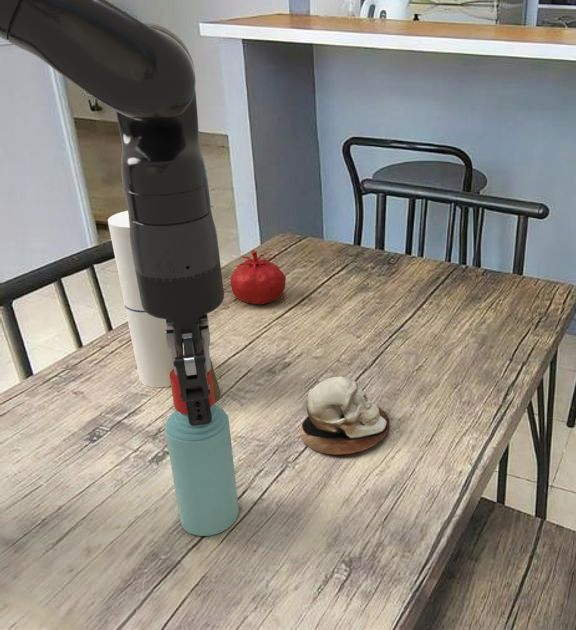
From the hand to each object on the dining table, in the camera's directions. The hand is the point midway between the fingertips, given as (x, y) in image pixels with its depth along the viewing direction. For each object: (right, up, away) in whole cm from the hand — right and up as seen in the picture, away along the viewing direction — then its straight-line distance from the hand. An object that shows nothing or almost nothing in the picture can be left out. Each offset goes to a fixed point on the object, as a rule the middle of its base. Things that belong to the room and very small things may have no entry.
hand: (200, 409), depth 71 cm
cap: (0, +1, -1) cm, 1 cm away
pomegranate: (-7, +13, +56) cm, 58 cm away
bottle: (-1, -13, +7) cm, 15 cm away
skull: (+13, -6, +22) cm, 26 cm away
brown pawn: (-9, -2, +28) cm, 29 cm away
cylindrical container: (-16, +1, +32) cm, 36 cm away
